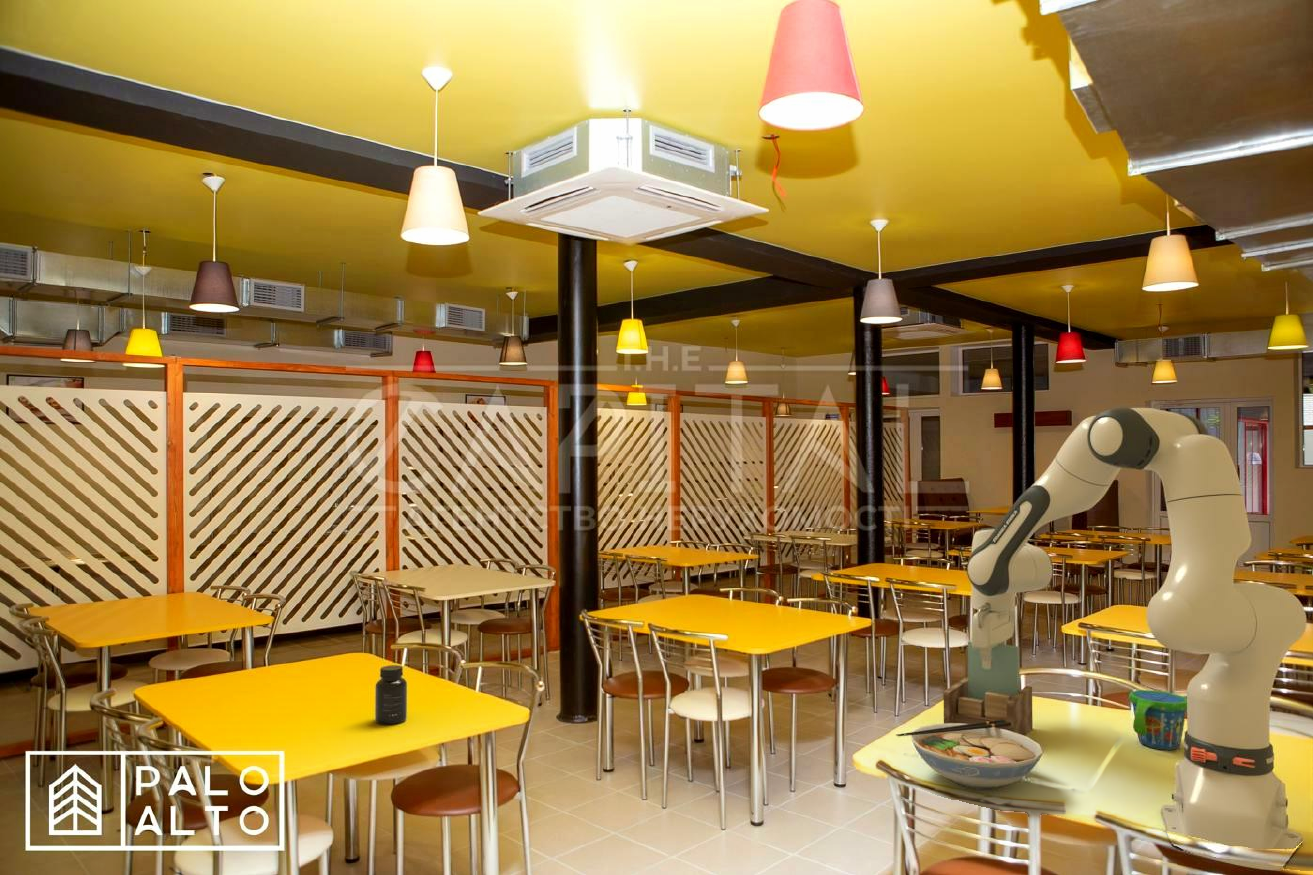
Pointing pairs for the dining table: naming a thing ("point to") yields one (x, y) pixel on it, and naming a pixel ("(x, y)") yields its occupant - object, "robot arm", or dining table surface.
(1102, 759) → the dining table surface
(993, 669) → the tall panel
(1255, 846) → the robot arm
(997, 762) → the ramen bowl
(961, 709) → the short oak offcut
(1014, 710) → the walnut rack
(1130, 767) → the dining table surface
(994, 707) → the tall oak offcut
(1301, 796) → the dining table surface
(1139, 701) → the snack cup
